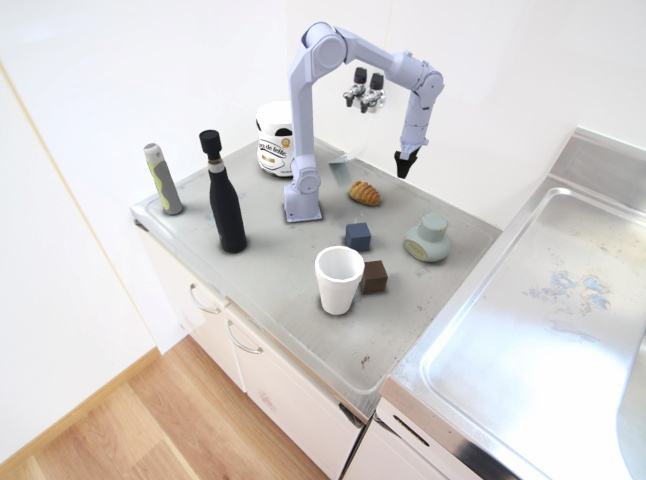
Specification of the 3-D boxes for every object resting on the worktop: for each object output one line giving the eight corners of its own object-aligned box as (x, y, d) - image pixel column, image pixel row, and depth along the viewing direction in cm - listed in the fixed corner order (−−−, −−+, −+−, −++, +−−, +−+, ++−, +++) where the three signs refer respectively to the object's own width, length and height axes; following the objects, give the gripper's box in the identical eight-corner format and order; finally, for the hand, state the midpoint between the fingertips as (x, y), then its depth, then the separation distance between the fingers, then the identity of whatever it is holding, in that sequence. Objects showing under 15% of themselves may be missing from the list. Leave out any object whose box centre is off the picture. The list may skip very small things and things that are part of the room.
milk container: (257, 182, 106) (249, 126, 93) (261, 153, 118) (254, 100, 105) (312, 181, 106) (313, 125, 93) (311, 152, 118) (311, 98, 104)
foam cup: (312, 287, 78) (313, 247, 68) (352, 284, 78) (358, 244, 69) (317, 323, 72) (318, 284, 62) (361, 319, 72) (368, 280, 62)
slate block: (349, 252, 85) (351, 238, 82) (344, 238, 89) (346, 224, 85) (368, 250, 86) (371, 235, 82) (363, 236, 89) (366, 222, 85)
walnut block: (363, 293, 77) (365, 279, 73) (357, 276, 80) (359, 262, 76) (384, 291, 77) (388, 276, 73) (378, 274, 80) (381, 260, 77)
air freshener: (396, 245, 87) (404, 215, 79) (418, 232, 90) (428, 202, 82) (430, 272, 80) (442, 241, 73) (453, 256, 84) (466, 226, 76)
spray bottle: (173, 217, 96) (148, 152, 81) (162, 211, 97) (135, 147, 83) (186, 208, 98) (164, 143, 83) (175, 202, 100) (151, 138, 85)
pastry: (385, 200, 99) (387, 189, 96) (371, 210, 96) (372, 199, 93) (360, 186, 104) (361, 176, 101) (345, 196, 101) (346, 185, 98)
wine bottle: (251, 239, 89) (231, 128, 67) (240, 255, 85) (215, 144, 63) (229, 233, 91) (202, 124, 68) (217, 250, 87) (185, 139, 64)
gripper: (426, 138, 77) (413, 188, 87) (439, 112, 86) (425, 160, 96) (396, 132, 79) (386, 181, 89) (411, 107, 88) (401, 154, 98)
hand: (405, 170), depth 93 cm, fingers open, 7 cm apart
